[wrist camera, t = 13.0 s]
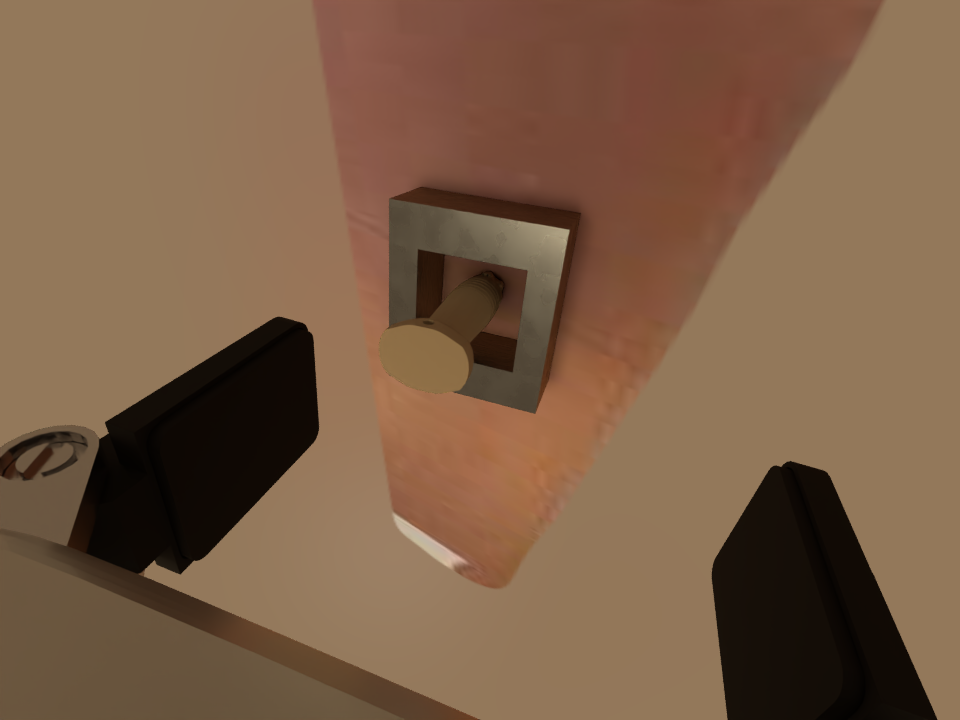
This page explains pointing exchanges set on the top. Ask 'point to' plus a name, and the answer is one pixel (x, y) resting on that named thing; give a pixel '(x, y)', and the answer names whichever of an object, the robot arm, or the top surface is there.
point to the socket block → (493, 239)
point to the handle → (441, 338)
